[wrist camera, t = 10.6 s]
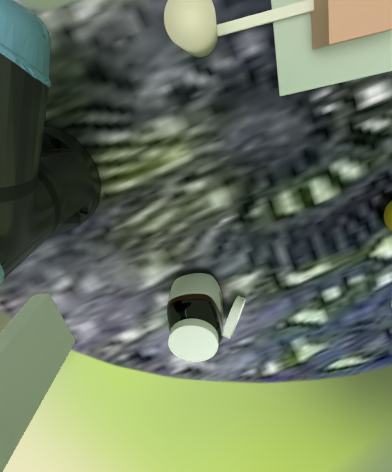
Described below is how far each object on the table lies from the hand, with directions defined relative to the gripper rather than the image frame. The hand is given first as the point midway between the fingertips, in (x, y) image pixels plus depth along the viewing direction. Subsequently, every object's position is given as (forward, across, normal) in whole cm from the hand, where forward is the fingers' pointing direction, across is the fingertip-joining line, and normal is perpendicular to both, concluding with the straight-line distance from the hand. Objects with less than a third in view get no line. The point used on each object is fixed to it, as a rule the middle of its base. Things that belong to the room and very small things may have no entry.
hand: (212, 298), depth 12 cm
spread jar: (+32, -6, -24) cm, 40 cm away
